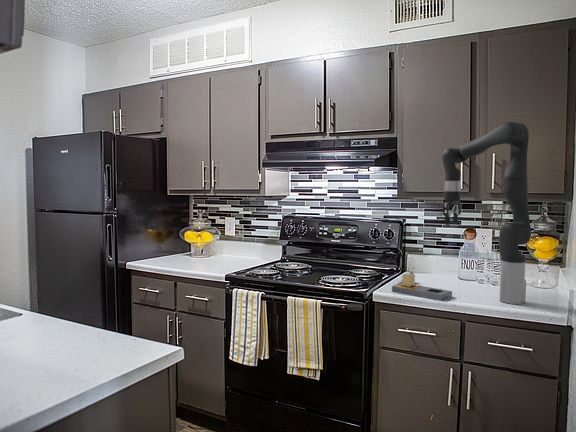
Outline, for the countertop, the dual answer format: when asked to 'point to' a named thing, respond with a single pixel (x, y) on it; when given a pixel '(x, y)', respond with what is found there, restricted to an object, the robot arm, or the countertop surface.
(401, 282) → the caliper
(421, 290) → the gray fixture base
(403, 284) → the brass block
